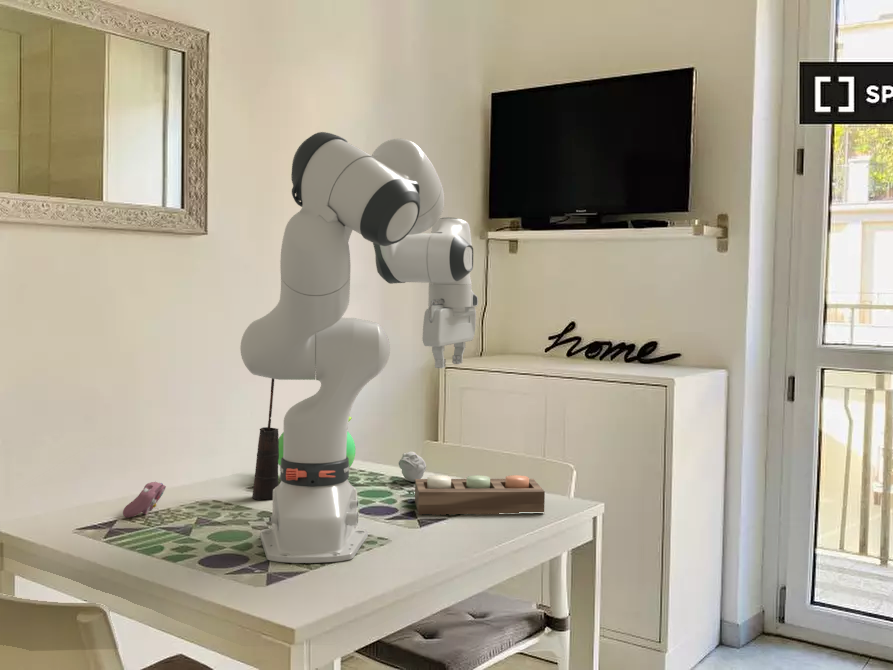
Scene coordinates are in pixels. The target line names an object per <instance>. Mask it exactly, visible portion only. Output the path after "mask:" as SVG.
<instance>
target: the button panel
mask: <svg viewBox="0 0 893 670" xmlns="http://www.w3.org/2000/svg"><path fill="white" fill-rule="evenodd" d="M414 484H415V485H414V503H415V507H416V510H417V515H418V516H423V515H422V514H432V515H431V516H434V515H435V514H436V515H435V516H437V515H439V516H441V515H444V516H445V515H446V514H449V515H450V516H451V514H453V516H455V514H476V515H500V514H499V513H519V512H544V513H545V503H546V502H545V500H546V499H545V493H546V491H545V490H544V489H543V488H542V487H541V486H540V485H539V483H538V482H537V481H536V479H534V478H529V488H505V478H490V488H474V489H466V485H467V478H451V489H427V478H421V479H415V482H414ZM440 514H441V515H440ZM449 515H448V516H449ZM446 516H447V515H446Z"/></svg>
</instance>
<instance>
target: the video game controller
mask: <svg viewBox="0 0 893 670" xmlns="http://www.w3.org/2000/svg"><path fill="white" fill-rule="evenodd" d="M143 487H144V488H143V489H142V490H140V492H139V494H138V495H137V496H136V498H134V499H133V500H132V501H131V502H129V503H128V504H127V505H125V507H124V508H123V510H122V515H123V516H124V518H132V517H136V516H137V515H140V514H141V513H142V514H143V515H148V513H149V511H153V509H154V508H156V507H157V504H158V501H159V500H160V499H161V498H162V496H163V494H164V492H165V490H166V487H167V486H166V485H164V484H163V483H162V482H157V481H156V480H155V481H151V482H148V483H146V484H145V485H144V486H143Z"/></svg>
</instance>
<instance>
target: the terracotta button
mask: <svg viewBox="0 0 893 670" xmlns="http://www.w3.org/2000/svg"><path fill="white" fill-rule="evenodd" d="M504 479H505V488H529V479H530V478H529V476H526V475H519V474H515V475H514V474H513V475H507V476H505V478H504Z"/></svg>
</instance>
